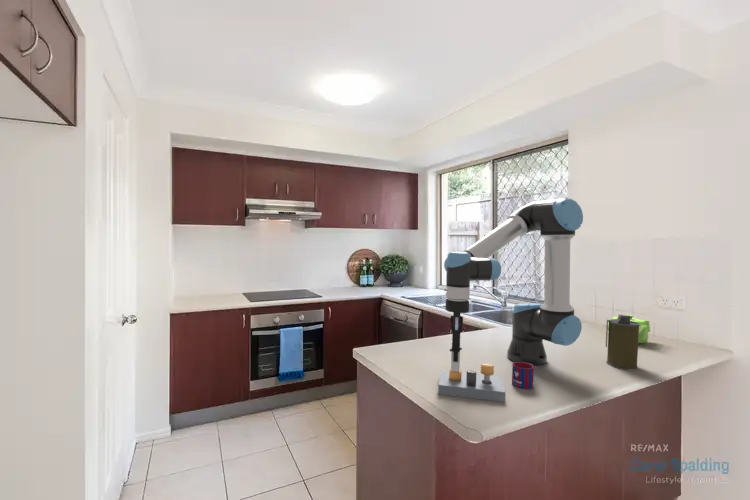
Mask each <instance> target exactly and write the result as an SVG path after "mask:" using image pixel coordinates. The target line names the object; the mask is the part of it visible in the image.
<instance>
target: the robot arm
mask: <svg viewBox="0 0 750 500" xmlns="http://www.w3.org/2000/svg"><path fill="white" fill-rule="evenodd" d="M583 213H584V212H583V209H582V208H581V205H579V204H578V202H577V201H576V200H574V199H572V198H562V197H560V198H555V199H554V198H553V199H544V200H535V201H532V202H530V203H528V204H527V203H526V205H524V206H521V207H520V208H519V209H517V210H515V211H514V212H513V213H511V214H509V215H508V217H507V219H506V221H504V222H502V223H501V224H500V225H498V226H497V227H496V228H494V229H493V230H492V231H490V232H489V233H487V234H486V235H484V236H482V238H480V239H478V240H477V241H476V242H474V243H472V245H470V246H468V247H467V248H465V249H464V250H462V251H460V252H459V251H451V252H449V253H448V254H447V257H446V258H445V260H444V264H443V267H444V270H445V272H446V279H445V281H446V282H445V285H446V287H445V288H444V289H443V291H444V292H445V297H446V299H445V311H446V312H450V313H453V314H452V315H450V325H451V326H450V328H451V329H450V330H451V332H452V335H451V336H452V337H451V341H452V342H451V348H449V352H451V353H450V354H451V356H450V357H451V359H450V360H451V361H450V370H451V371H459V370H460V366H461V365H460V364H461V363H460V362H461V361H460V360H461V359H460V358H461V351H462V350H463V347H461V332H463V331H462V330H463V324H464V316H462V315H461V314H465V313H468V312H469V311H470V301H469V299H470V298H471V296H470V295H471V294H470V291H471V289H470V288H471V286H470V284H471V282H472V281H489V282H490V281H495V280H497V279H498V278H499V277H500V276H501V273H502V266H501V263H500V261H499V260H498V259H496V258H490V257H492V256H493V255H494V254H496V253H497V252H498V251H500V250H501V249H503V248H504V247H505V246H506V245H508V244H510V243H511V242H512V241H514V240H516V238H518V237H523V236H525V235H527V234H529V233H530V232H531V233H532V232H535V231H540V234H539V236H540V237H541V238H542V239H543V240H544V283H543V285H544V294H543V295H544V297H543V298H544V299H543V300H544V302H543V303H538V302H537V303H536V302H535V303H533V302H532V303H530V302H529V303H528V302H526V303H516V304H515V305H513V310H512V332H511V333H512V337H511V341H510V343H509V345H508V348H507V350H506V351H507V352H506V353H507V354H506V357H507V358H508V359H509V360H510V361H512V362H524V363H529V364H533V365H534V366H540V365H544V364H545V365H546V363H547V362H548V361H547V358H548V357H547V353H546V350H545V346H544V342H543V340H544V341H547V342H550V343H553V344H554V345H559V346H564V347H566V346H570V345H572V344H574V343H575V342H576V341H577V340H578V339H579V337H580V335H581V332H582V327H583V326H582V321H581V320H580V318H579V317H578V316H576V315H575V308H574V307H573V306H572V305H571V304H570V303H571V301H570V298H571V294H570V293H571V291H570V290H571V284H570V283H571V240H572V239H573V238H574V237H575V236H576V230H579V229H580V228H581V227H582V226H581V225H582V224H583V220H584V214H583Z"/></svg>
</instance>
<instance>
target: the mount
mask: <svg viewBox="0 0 750 500" xmlns="http://www.w3.org/2000/svg"><path fill="white" fill-rule="evenodd" d="M466 379H467V372H462V378H461V381H452V380H450V379H449V370H440V373H439V382H438V395H441V396H451V397H458V398H459V397H460V398H469V399H475V400H476V399H477V400H484V401H485V400H486V401H494V402H495V401H496V402H502V403H505V402H506V390H505V385H504V383H503V379H502V377H501V376H499V375H490V382H489V383H486V382H484V374H481V373H480V374H478V373H476V386H474V387H471V386H468V385H466Z"/></svg>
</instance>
